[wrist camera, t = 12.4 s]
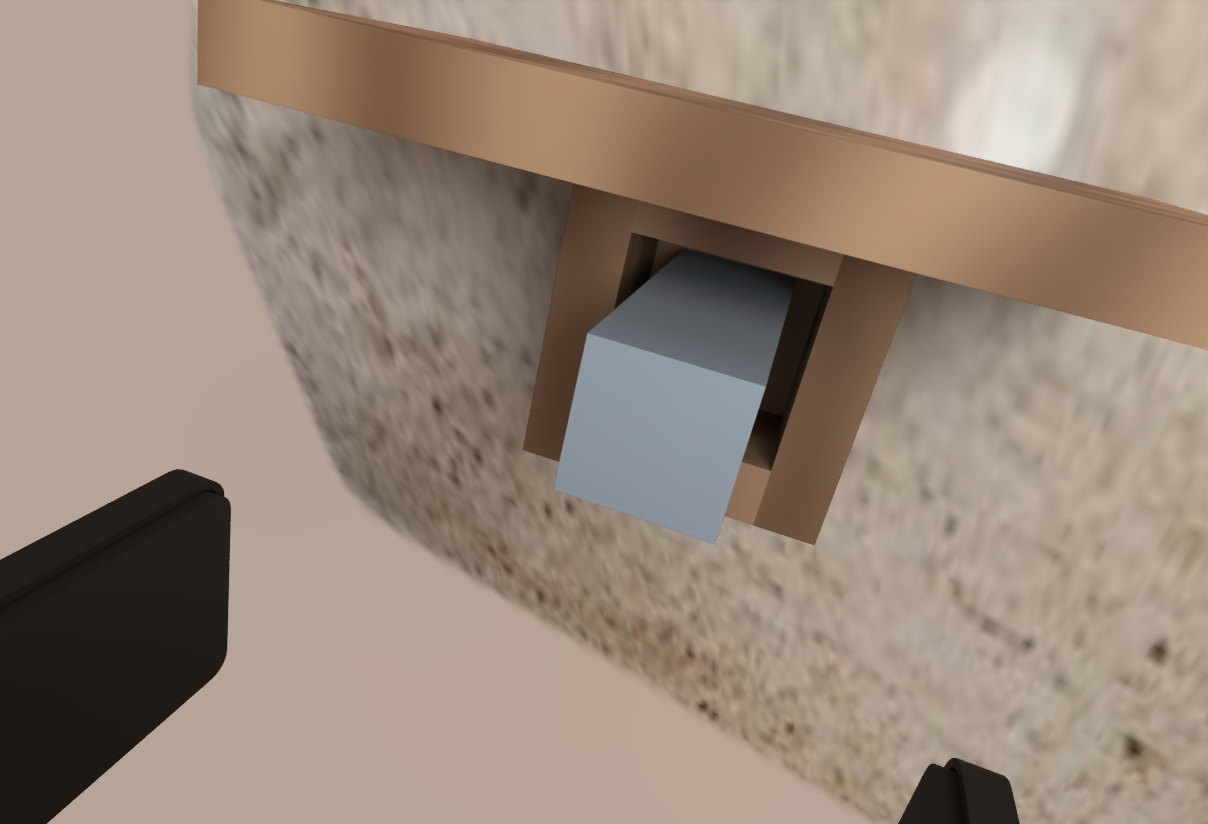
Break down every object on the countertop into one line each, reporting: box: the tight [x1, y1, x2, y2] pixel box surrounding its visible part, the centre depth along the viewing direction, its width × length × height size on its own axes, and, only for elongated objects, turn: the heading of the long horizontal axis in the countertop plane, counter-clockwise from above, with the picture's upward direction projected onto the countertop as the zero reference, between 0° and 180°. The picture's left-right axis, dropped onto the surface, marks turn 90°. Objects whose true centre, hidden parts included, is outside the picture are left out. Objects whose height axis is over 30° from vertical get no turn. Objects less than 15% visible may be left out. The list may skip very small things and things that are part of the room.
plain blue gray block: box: [553, 249, 796, 544], centre depth 23 cm, size 4×4×12 cm
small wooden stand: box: [198, 0, 1208, 545], centre depth 24 cm, size 24×12×14 cm, turn 77°
